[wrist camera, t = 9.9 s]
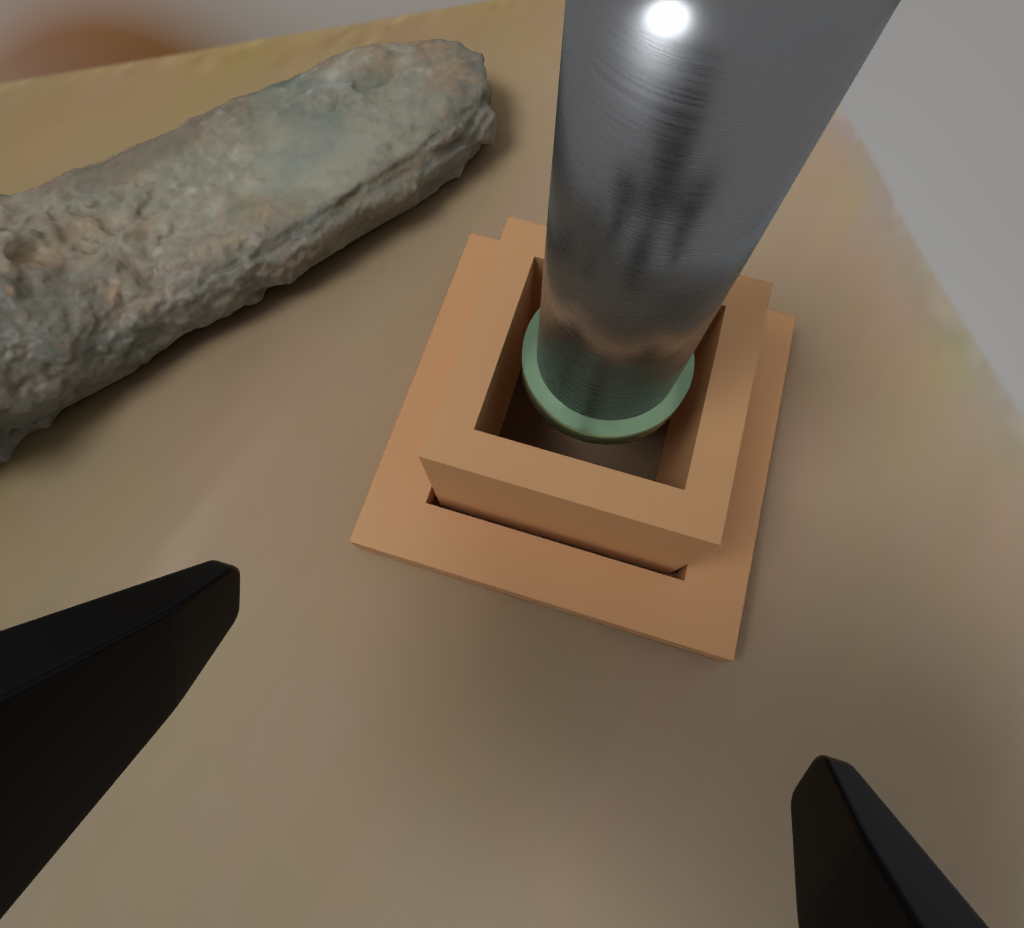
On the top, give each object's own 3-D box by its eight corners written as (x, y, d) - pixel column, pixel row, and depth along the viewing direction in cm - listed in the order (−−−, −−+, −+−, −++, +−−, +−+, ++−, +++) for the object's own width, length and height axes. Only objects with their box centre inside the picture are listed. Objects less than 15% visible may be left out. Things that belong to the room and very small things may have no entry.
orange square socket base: (721, 661, 20) (794, 660, 15) (357, 547, 21) (308, 510, 16) (782, 333, 24) (857, 241, 19) (472, 252, 25) (462, 145, 20)
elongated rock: (548, 198, 28) (431, 78, 31) (558, 89, 23) (418, -40, 26) (-302, 661, 20) (-349, 437, 23) (-565, 643, 15) (-581, 361, 18)
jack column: (660, 472, 17) (929, 132, 6) (501, 426, 18) (485, 31, 7) (694, 331, 19) (961, -150, 8) (545, 292, 19) (594, -216, 8)
